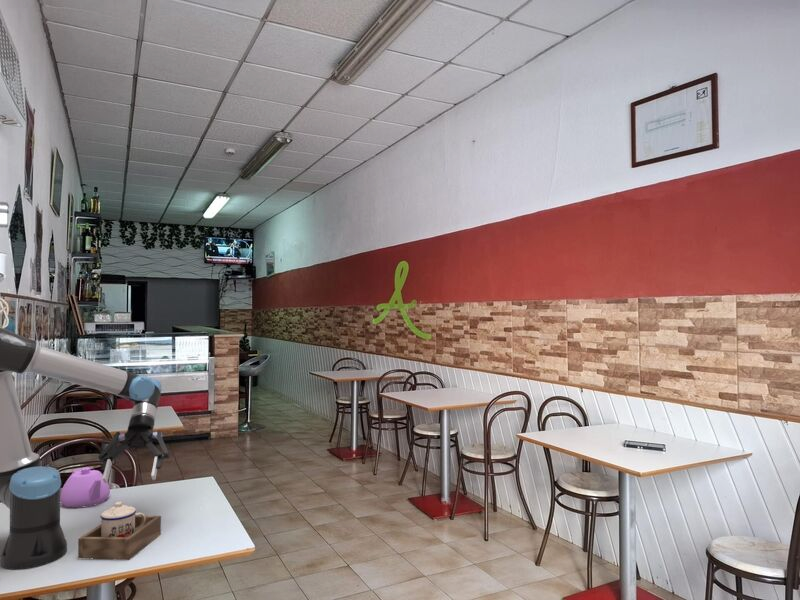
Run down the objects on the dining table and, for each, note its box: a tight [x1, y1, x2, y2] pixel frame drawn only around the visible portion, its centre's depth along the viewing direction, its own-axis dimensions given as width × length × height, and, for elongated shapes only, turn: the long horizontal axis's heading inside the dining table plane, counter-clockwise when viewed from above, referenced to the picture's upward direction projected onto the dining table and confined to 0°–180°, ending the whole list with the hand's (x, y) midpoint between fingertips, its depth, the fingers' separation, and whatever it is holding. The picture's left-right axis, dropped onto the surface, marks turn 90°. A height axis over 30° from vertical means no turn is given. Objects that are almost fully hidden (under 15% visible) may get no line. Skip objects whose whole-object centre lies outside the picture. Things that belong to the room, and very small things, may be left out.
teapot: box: [60, 466, 111, 508], centre depth 197 cm, size 22×16×12 cm
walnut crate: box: [77, 515, 162, 561], centre depth 158 cm, size 14×17×6 cm
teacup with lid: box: [99, 501, 146, 537], centre depth 159 cm, size 12×9×12 cm
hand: (129, 479), depth 166 cm, fingers open, 13 cm apart
